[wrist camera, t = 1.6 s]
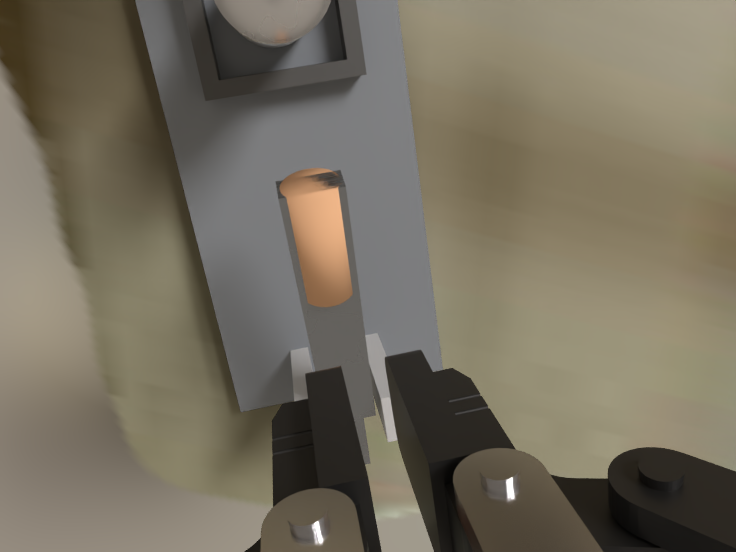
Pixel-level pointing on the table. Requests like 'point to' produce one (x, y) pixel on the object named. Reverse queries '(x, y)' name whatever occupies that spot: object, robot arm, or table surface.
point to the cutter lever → (328, 281)
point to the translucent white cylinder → (273, 19)
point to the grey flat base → (286, 156)
